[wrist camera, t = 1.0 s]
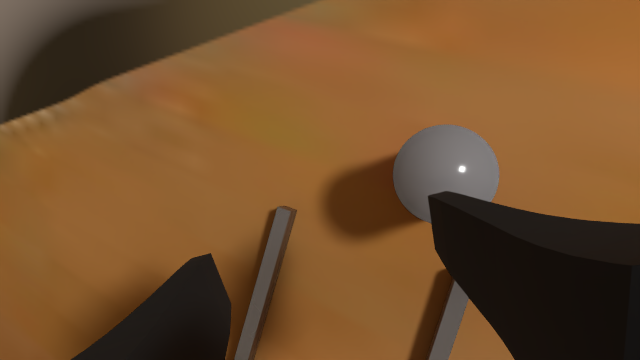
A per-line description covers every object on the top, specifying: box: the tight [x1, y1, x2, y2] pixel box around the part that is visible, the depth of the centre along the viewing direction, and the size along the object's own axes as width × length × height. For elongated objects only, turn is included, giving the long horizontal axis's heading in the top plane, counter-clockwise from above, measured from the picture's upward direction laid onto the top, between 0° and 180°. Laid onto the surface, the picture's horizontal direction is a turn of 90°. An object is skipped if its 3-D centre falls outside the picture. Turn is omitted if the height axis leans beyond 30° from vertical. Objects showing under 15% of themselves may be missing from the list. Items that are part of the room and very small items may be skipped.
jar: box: [393, 125, 499, 223], centre depth 20 cm, size 5×5×6 cm
